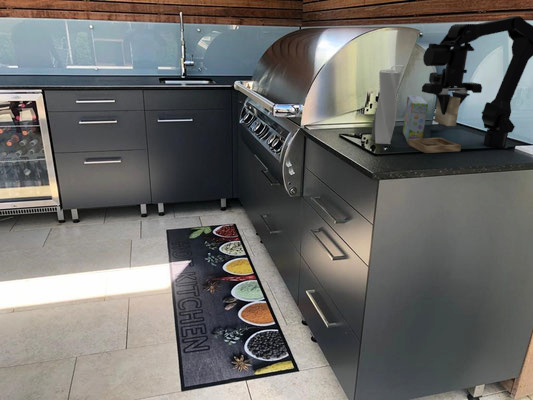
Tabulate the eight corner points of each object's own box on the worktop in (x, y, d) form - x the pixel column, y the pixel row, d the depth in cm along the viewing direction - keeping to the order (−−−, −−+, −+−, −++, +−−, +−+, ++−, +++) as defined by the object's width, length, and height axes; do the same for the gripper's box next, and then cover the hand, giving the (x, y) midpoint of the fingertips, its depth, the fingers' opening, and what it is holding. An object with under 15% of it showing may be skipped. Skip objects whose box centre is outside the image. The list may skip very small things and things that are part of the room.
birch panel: (442, 121, 151) (446, 94, 148) (455, 125, 144) (460, 98, 141) (434, 121, 151) (438, 95, 147) (447, 126, 143) (452, 98, 140)
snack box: (423, 145, 156) (429, 103, 150) (406, 145, 157) (412, 102, 151) (416, 133, 175) (421, 95, 170) (401, 132, 176) (406, 94, 171)
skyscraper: (393, 142, 161) (402, 63, 151) (395, 148, 153) (405, 65, 143) (370, 141, 162) (377, 63, 152) (371, 147, 155) (379, 65, 144)
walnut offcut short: (424, 143, 151) (424, 140, 150) (433, 146, 146) (433, 143, 146) (417, 144, 150) (417, 140, 150) (426, 147, 146) (426, 144, 145)
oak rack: (440, 145, 156) (441, 137, 155) (459, 153, 146) (461, 145, 145) (407, 146, 154) (408, 139, 153) (424, 155, 144) (426, 146, 143)
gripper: (465, 64, 149) (458, 109, 154) (416, 64, 145) (410, 111, 151) (487, 66, 139) (478, 115, 144) (434, 66, 135) (427, 117, 141)
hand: (447, 114), depth 145 cm, fingers closed on birch panel, 3 cm apart
